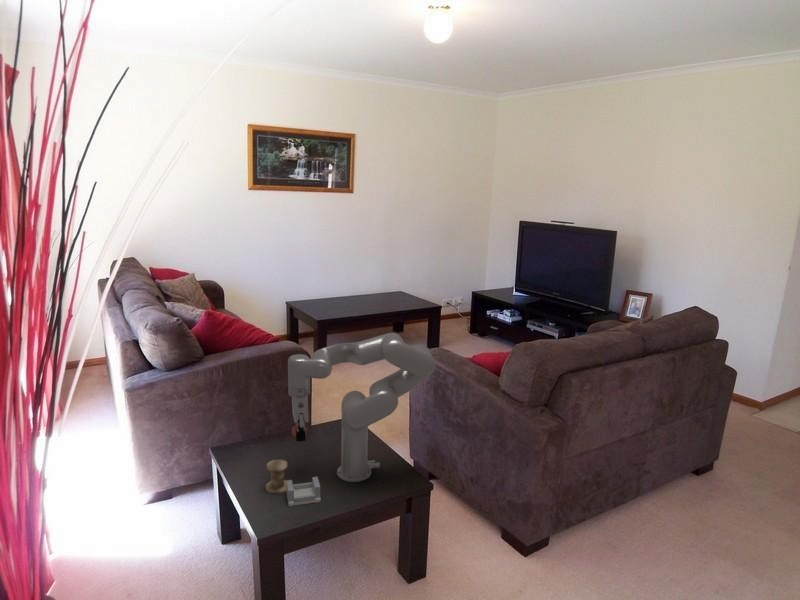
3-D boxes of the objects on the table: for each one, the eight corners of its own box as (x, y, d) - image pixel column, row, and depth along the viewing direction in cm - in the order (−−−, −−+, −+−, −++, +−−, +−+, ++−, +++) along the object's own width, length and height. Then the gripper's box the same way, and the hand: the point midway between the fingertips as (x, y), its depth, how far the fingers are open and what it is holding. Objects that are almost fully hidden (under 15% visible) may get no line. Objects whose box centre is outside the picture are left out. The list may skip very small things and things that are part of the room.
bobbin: (288, 479, 194) (287, 457, 193) (290, 491, 187) (289, 468, 185) (265, 482, 192) (264, 460, 190) (266, 495, 185) (265, 471, 183)
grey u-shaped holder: (317, 487, 190) (317, 475, 189) (320, 501, 182) (320, 488, 181) (286, 492, 187) (286, 478, 186) (288, 506, 179) (288, 492, 178)
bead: (306, 433, 198) (306, 419, 197) (308, 440, 193) (308, 426, 191) (291, 435, 196) (290, 421, 195) (292, 442, 191) (292, 427, 190)
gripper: (313, 398, 183) (313, 447, 187) (306, 380, 199) (307, 425, 203) (290, 399, 181) (291, 449, 185) (286, 381, 197) (286, 427, 201)
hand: (299, 436), depth 194 cm, fingers closed on bead, 5 cm apart
